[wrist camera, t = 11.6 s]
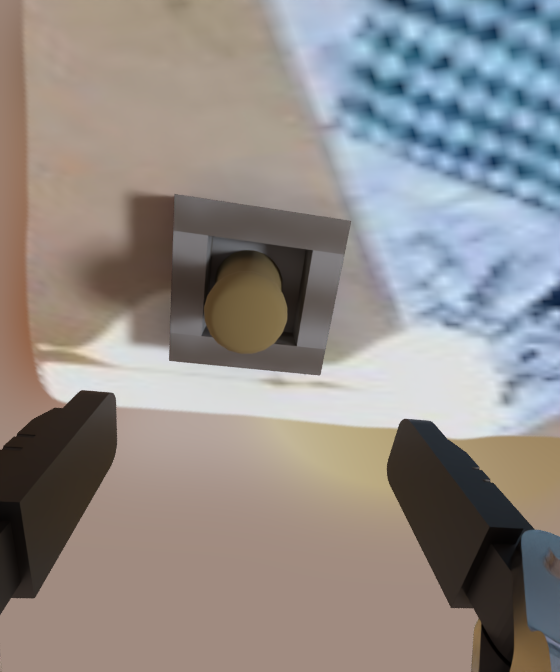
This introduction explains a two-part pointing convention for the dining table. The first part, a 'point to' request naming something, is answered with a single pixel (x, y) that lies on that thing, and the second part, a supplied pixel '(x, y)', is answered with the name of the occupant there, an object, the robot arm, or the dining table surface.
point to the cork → (246, 303)
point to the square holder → (290, 257)
